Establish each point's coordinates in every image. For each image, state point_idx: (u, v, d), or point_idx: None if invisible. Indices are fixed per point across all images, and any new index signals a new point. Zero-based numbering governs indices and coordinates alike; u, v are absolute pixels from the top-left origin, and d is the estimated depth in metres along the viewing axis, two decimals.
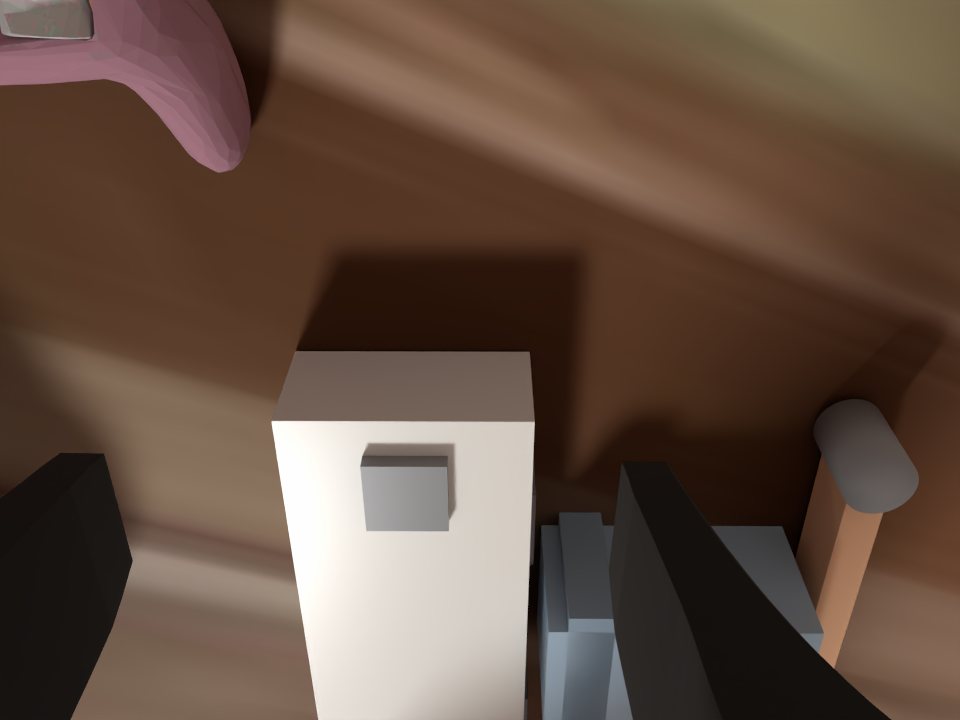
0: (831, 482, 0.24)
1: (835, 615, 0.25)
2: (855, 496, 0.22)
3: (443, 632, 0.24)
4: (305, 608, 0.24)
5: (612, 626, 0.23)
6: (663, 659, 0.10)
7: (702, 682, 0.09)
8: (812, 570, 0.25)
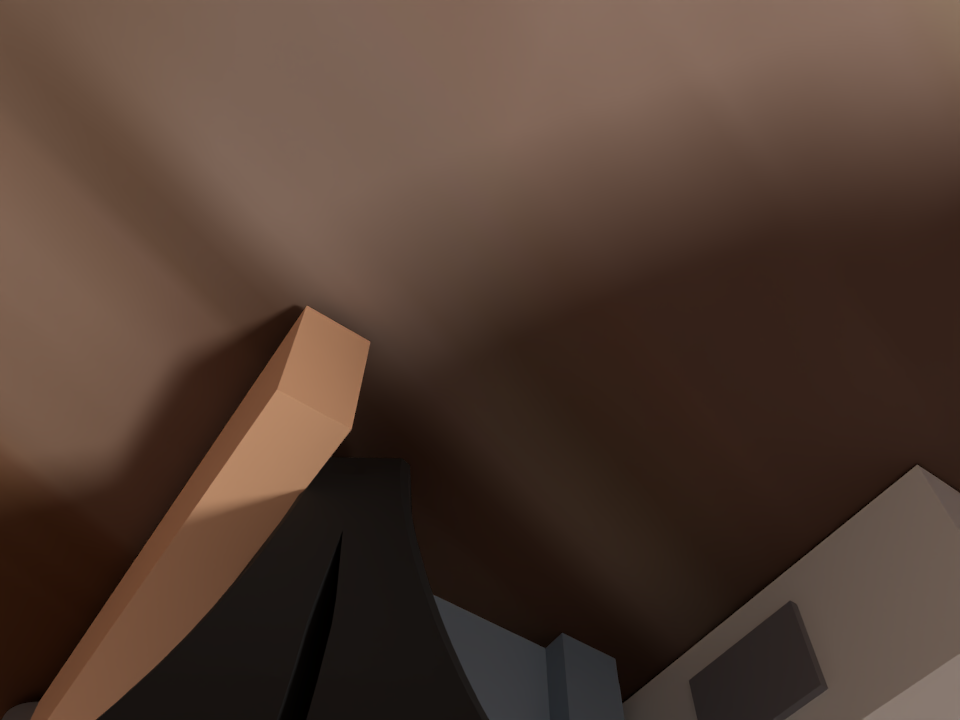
0: None
1: (110, 677, 0.13)
2: None
3: None
4: None
5: None
6: None
7: None
8: None
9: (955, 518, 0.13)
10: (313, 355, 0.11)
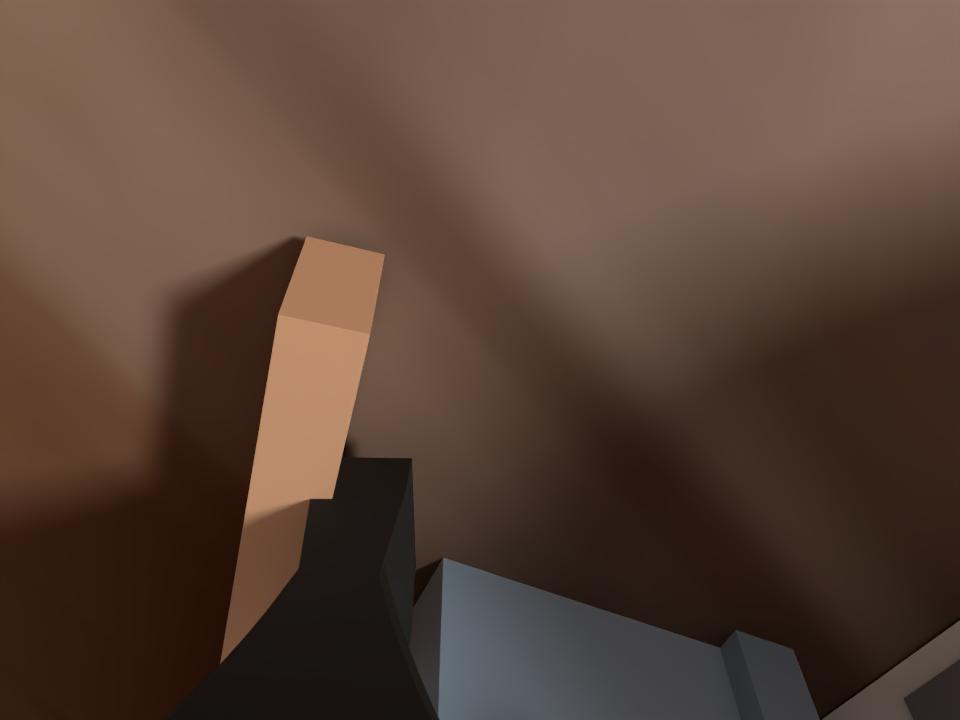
0: None
1: None
2: None
3: None
4: None
5: None
6: None
7: None
8: None
9: None
10: (318, 277, 0.11)
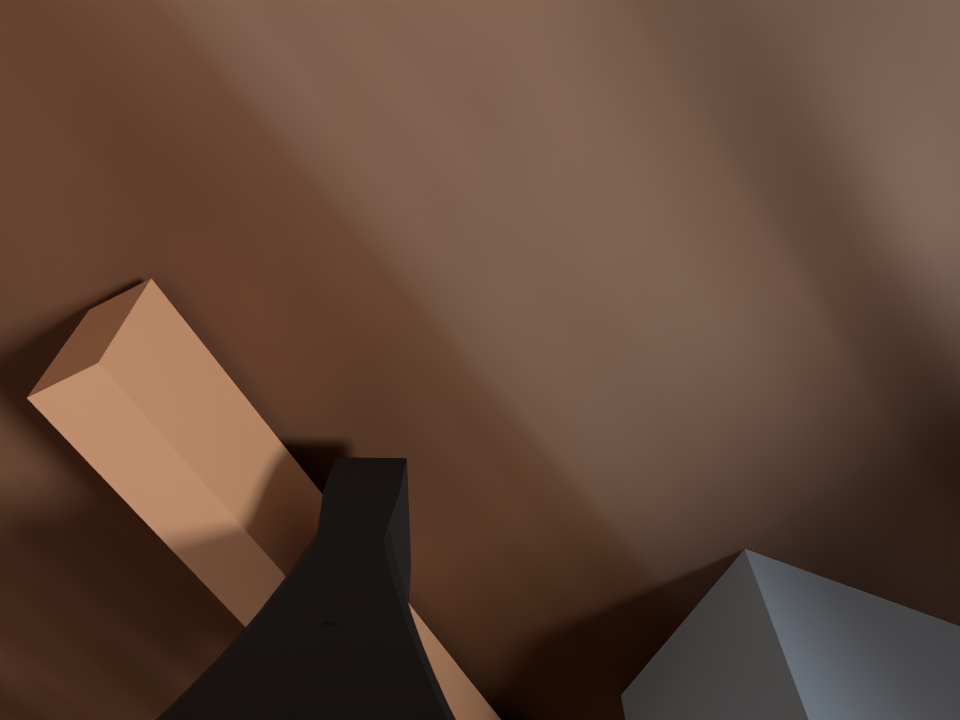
0: None
1: None
2: None
3: None
4: None
5: None
6: None
7: None
8: None
9: None
10: (79, 340, 0.11)
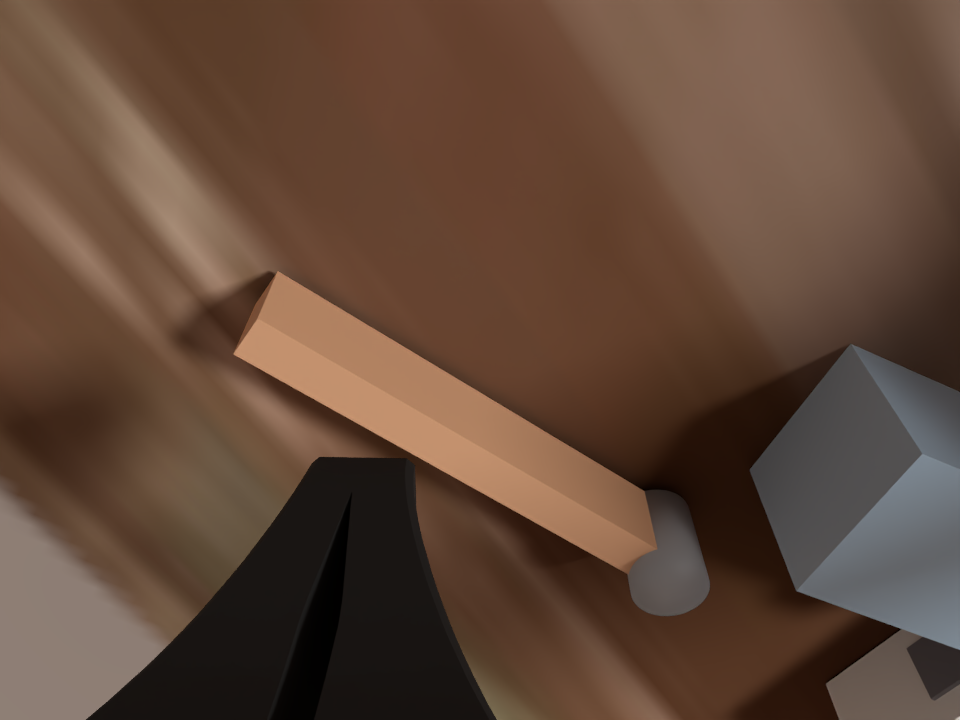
0: (638, 509, 0.21)
1: (491, 479, 0.19)
2: (675, 569, 0.20)
3: None
4: None
5: None
6: None
7: None
8: (540, 459, 0.20)
9: None
10: (251, 318, 0.19)
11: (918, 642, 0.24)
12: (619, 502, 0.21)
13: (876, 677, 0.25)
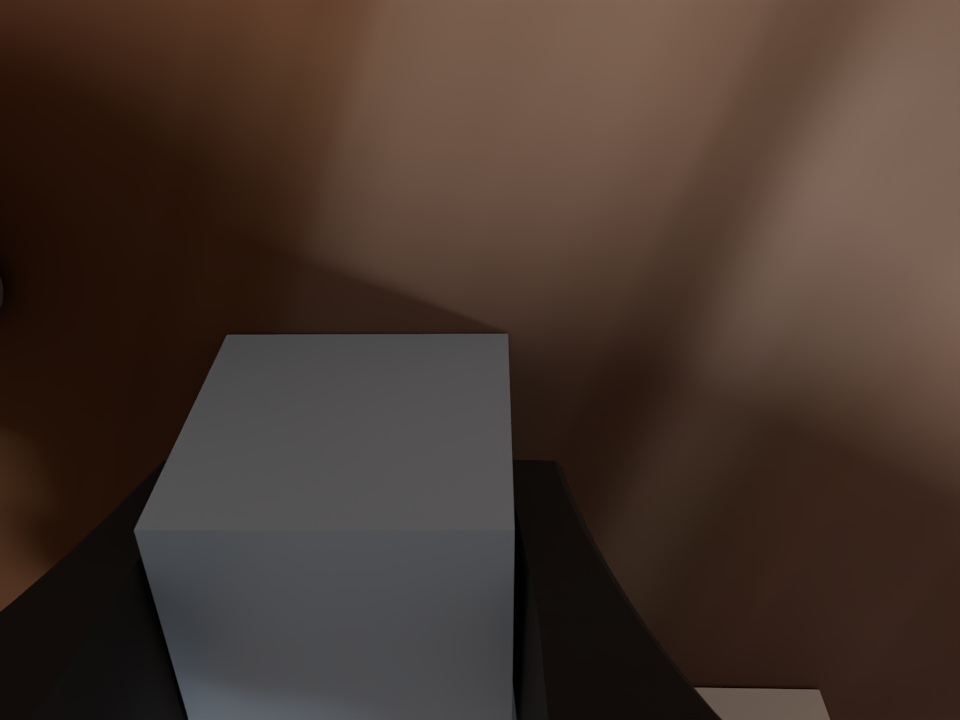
0: None
1: None
2: None
3: None
4: None
5: None
6: (528, 658, 0.10)
7: (542, 680, 0.09)
8: None
9: None
10: None
11: None
12: None
13: None
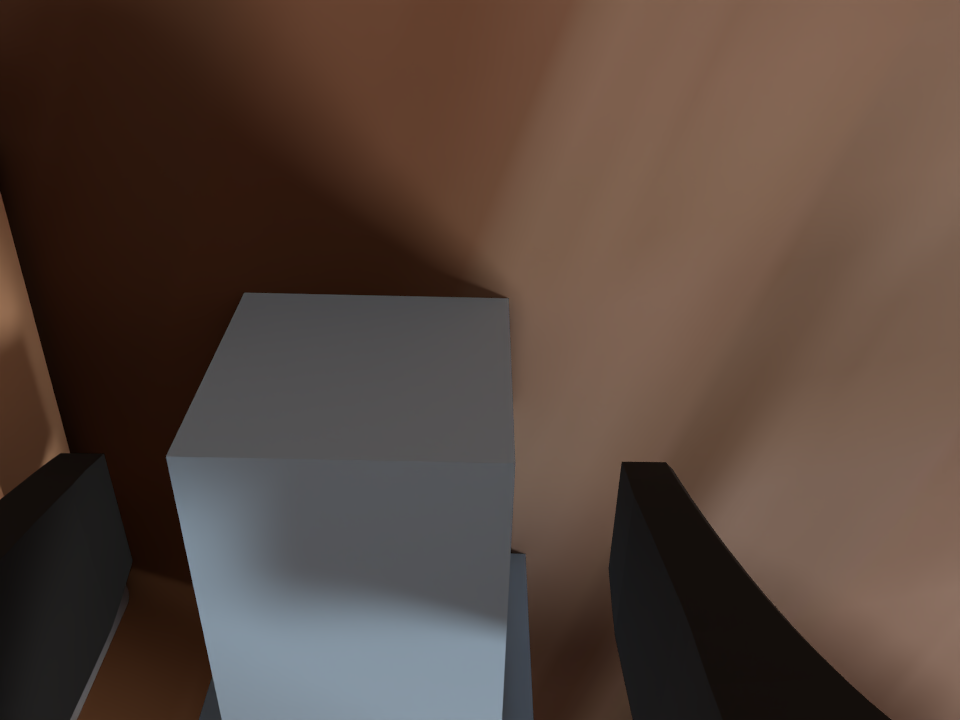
0: None
1: None
2: None
3: None
4: None
5: None
6: (662, 659, 0.10)
7: (702, 682, 0.09)
8: (26, 459, 0.14)
9: None
10: None
11: None
12: None
13: None
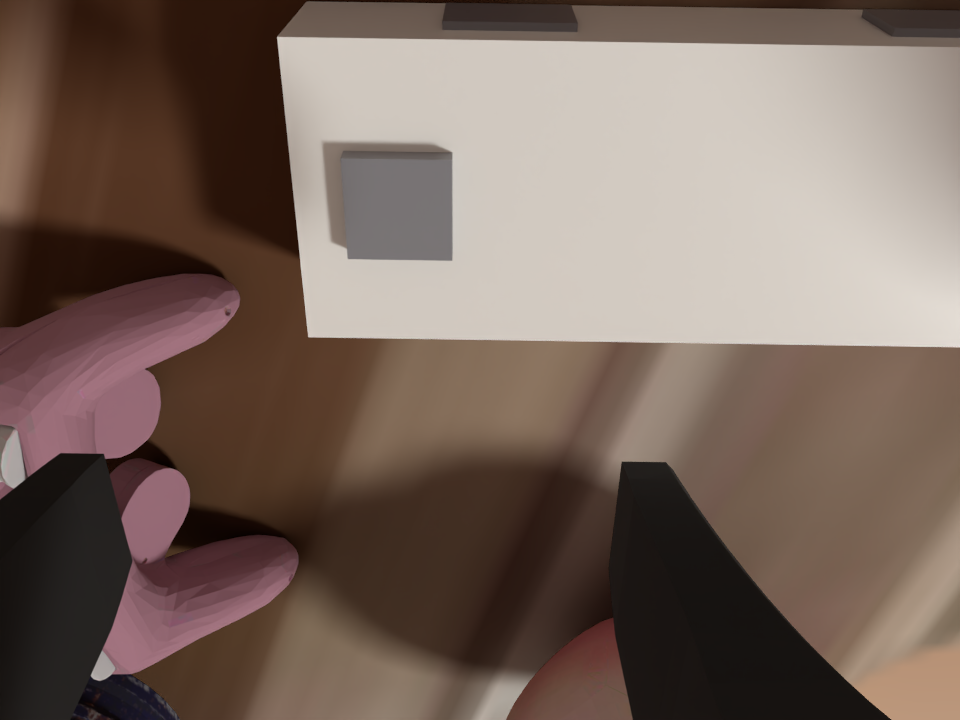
0: None
1: None
2: None
3: (672, 168, 0.17)
4: (606, 336, 0.19)
5: None
6: (663, 661, 0.10)
7: (702, 682, 0.09)
8: None
9: None
10: None
11: (466, 3, 0.17)
12: None
13: (381, 10, 0.17)
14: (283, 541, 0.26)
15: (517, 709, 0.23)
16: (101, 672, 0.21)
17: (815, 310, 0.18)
